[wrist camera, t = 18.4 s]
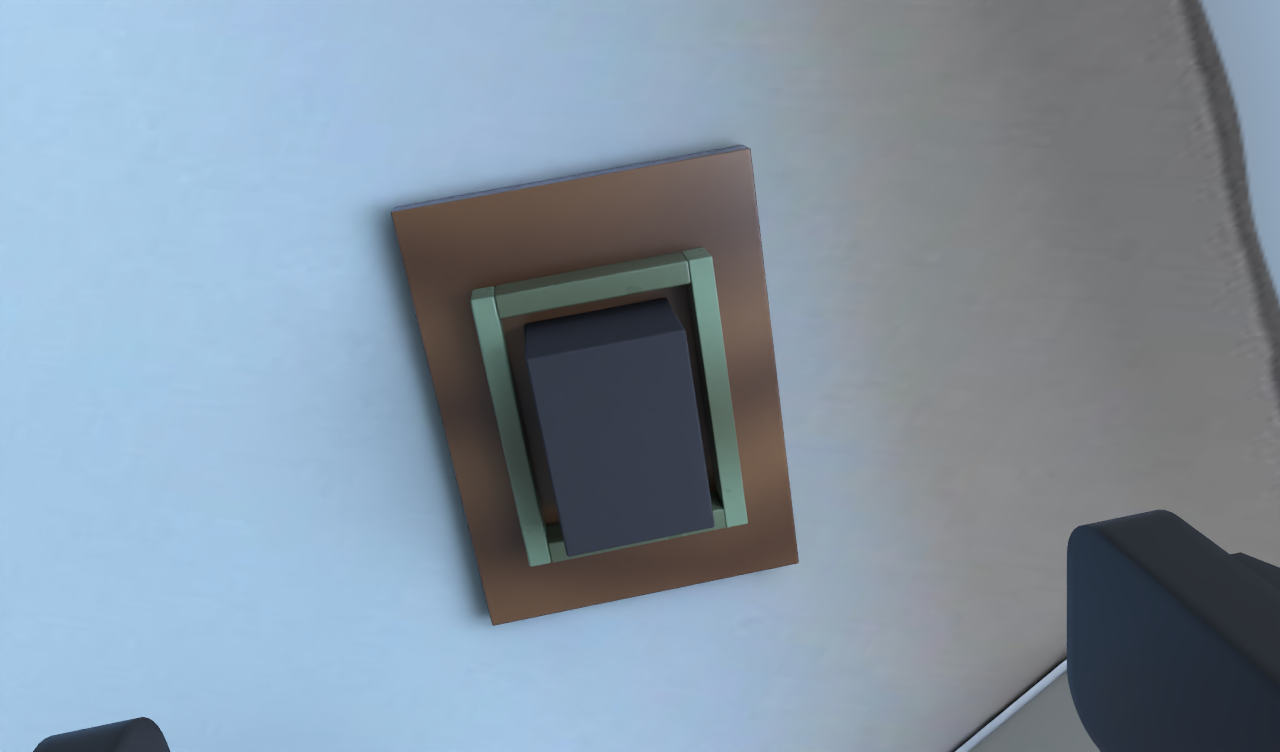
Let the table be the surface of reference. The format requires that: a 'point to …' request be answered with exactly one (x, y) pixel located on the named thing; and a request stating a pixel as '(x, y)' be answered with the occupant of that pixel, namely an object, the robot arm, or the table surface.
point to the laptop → (1037, 722)
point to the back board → (583, 282)
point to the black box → (619, 425)
